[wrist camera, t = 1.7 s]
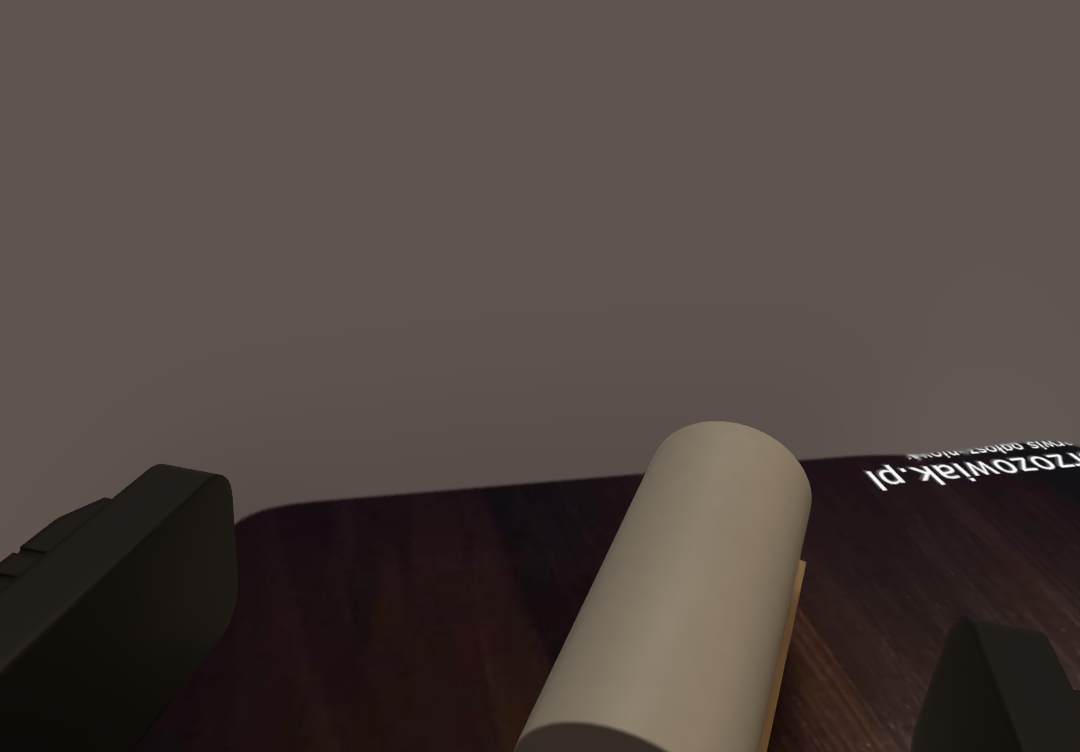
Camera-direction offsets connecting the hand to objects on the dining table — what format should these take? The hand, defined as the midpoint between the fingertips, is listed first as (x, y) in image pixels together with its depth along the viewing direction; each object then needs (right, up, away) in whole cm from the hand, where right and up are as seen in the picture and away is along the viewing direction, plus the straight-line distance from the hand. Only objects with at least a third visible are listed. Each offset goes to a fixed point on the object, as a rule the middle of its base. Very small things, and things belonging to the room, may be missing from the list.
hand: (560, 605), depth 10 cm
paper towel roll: (+4, -5, +17) cm, 18 cm away
